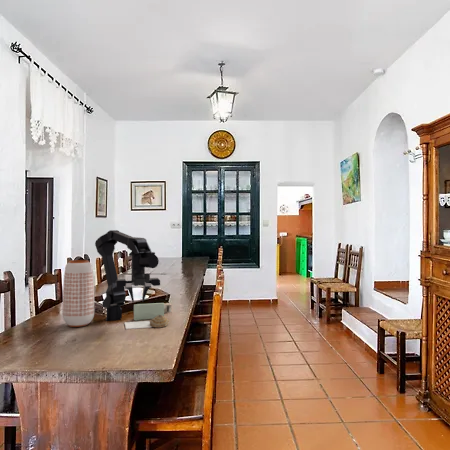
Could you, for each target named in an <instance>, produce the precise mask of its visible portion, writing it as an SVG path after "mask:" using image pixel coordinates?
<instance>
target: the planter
mask: <svg viewBox="0 0 450 450" xmlns="http://www.w3.org/2000/svg"><path fill="white" fill-rule="evenodd" d="M63 276H64V277H63V286H62V287H63V289H62V311H61V314H62V319H63V321H64V323H65V324H66V325H67V326H68V327H71V328H79V327H86V326H88V325H89V324H90V323H91V321H93V319H94V317H95V286H94V285H95V284H94V281H95V280H94V271H93V264H92V263H91V262H90V261H89V260H88V259H75V260H74V259H73V260H69V261H68V262H67V263H66V265H65V267H64V275H63Z"/></svg>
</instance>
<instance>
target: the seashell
mask: <svg viewBox="0 0 450 450" xmlns="http://www.w3.org/2000/svg"><path fill="white" fill-rule="evenodd" d="M169 322H170V319H168V318H167V317H166V316H165V315H164V316H162V315H158V316H156V317H155V318H154V319H150V325H151V326H152V327H151V328H163V327H166V326H168V324H169Z"/></svg>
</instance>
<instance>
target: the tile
mask: <svg viewBox="0 0 450 450" xmlns="http://www.w3.org/2000/svg"><path fill="white" fill-rule="evenodd" d="M150 322H151V320H139V321H127V322H126V321H125V322H124V327H125V330H134V329H135V330H136V329H150V328H151V329H152V328H153V327H152V326H151V325H150Z"/></svg>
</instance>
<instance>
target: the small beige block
mask: <svg viewBox="0 0 450 450" xmlns="http://www.w3.org/2000/svg"><path fill="white" fill-rule="evenodd" d="M167 313H172V304H171V303H169V302H166V303H164V314H167Z"/></svg>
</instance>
